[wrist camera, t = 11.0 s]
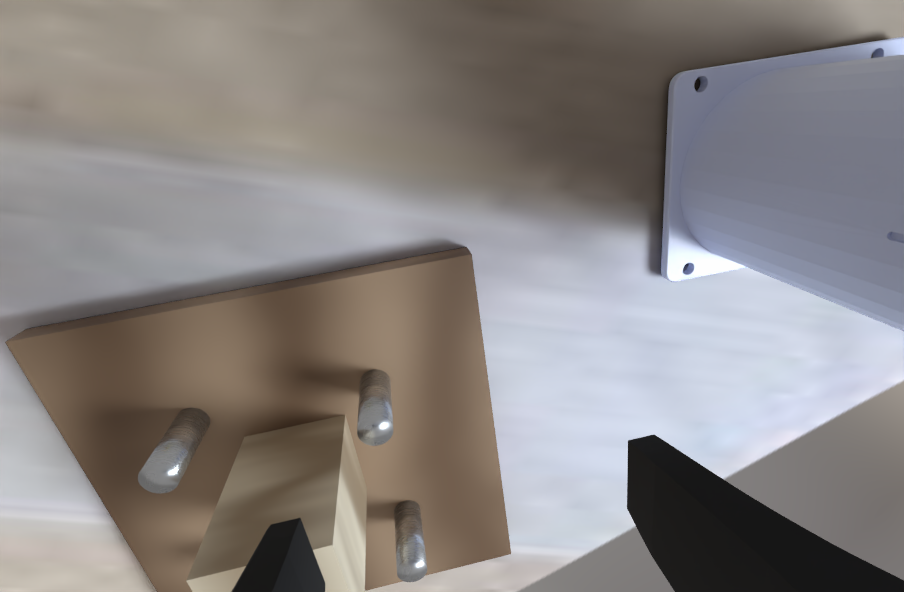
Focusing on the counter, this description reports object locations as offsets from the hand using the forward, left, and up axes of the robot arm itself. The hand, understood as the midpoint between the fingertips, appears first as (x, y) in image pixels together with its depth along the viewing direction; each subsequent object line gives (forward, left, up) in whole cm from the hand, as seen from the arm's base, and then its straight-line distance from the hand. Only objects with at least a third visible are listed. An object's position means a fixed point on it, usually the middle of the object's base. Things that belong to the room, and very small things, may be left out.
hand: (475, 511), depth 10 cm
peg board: (+6, +5, -9) cm, 12 cm away
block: (+6, +5, -8) cm, 11 cm away
